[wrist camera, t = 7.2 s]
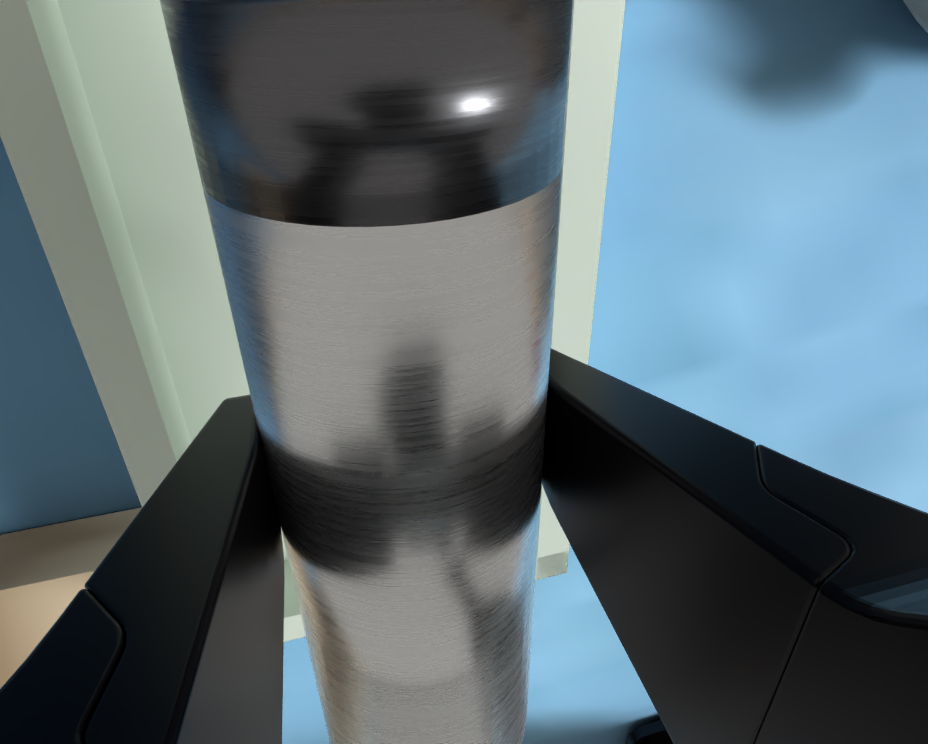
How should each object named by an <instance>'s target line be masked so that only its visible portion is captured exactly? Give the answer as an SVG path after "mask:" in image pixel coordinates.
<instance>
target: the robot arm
mask: <svg viewBox="0 0 928 744" xmlns="http://www.w3.org/2000/svg"><path fill="white" fill-rule="evenodd" d="M542 485H543V488H544V491H545V493H546V496H547V498H548V501H549V503H550V505H551V508H552V510H553V512H554V514H555V516H556V518H557V520H558V522H559V524H560V526H561V528H562V530H563V531H564V533H565V535H566V537H567V539H568V541H569V543H570V545H571V547H572V549H573V551H574V553H575V555H576V556H577V558H578V560H579V562H580V564H581V566H582V568H583V570H584V572H585V574H586V576H587V578H588V580H589V582H590V583H591V585H592V587H593V589H594V591H595V593H596V595H597V597H598V599H599V601H600V603H601V605H602V607H603V608H604V610H605V612H606V614H607V616H608V618H609V620H610V622H611V624H612V626H613V628H614V630H615V632H616V634H617V635H618V637H619V639H620V641H621V643H622V645H623V647H624V649H625V651H626V653H627V655H628V657H629V659H630V660H631V662H632V664H633V666H634V668H635V670H636V672H637V674H638V676H639V678H640V680H641V682H642V684H643V686H644V687H645V689H646V691H647V693H648V695H649V697H650V699H651V701H652V703H653V705H654V707H655V709H656V711H657V712H658V714H659V716H660V718H661V720H659V721H656V722H652V723H649V724H646V725H643V726H640V727H637V728H636V729H634V730H633V731H632V732H631V733H630V734H629V736H628V740H627V744H928V513H926V512H923V511H920V510H918V509H915V508H912V507H910V506H907V505H905V504H902V503H899V502H897V501H894V500H891V499H889V498H886V497H884V496H881V495H878V494H876V493H873V492H871V491H868V490H866V489H863V488H861V487H858V486H856V485H853V484H851V483H848V482H846V481H843V480H840V479H838V478H835V477H833V476H830V475H828V474H826V473H823V472H821V471H819V470H817V469H814V468H812V467H810V466H807V465H805V464H803V463H801V462H798V461H796V460H794V459H791V458H789V457H787V456H785V455H783V454H780V453H778V452H776V451H774V450H772V449H770V448H767V447H765V446H763V445H757V446H756V444H755V442H754V441H752V440H750V439H748V438H745V437H743V436H741V435H739V434H737V433H735V432H732V431H730V430H728V429H726V428H724V427H721V426H719V425H717V424H715V423H713V422H711V421H708V420H706V419H704V418H702V417H700V416H698V415H695V414H693V413H691V412H689V411H687V410H684V409H682V408H680V407H678V406H676V405H674V404H671V403H669V402H667V401H665V400H663V399H661V398H658V397H656V396H654V395H652V394H650V393H647V392H645V391H643V390H641V389H639V388H637V387H634V386H632V385H630V384H628V383H626V382H624V381H621V380H619V379H617V378H615V377H613V376H610V375H608V374H606V373H604V372H602V371H600V370H597V369H595V368H593V367H591V366H589V365H587V364H584V363H582V362H580V361H578V360H576V359H574V358H571V357H569V356H567V355H565V354H563V353H560V352H558V351H556V350H554V349H552V348H550V363H549V378H548V394H547V409H546V425H545V440H544V455H543V471H542ZM284 581H285V575H284V552H283V541H282V533H281V525H280V521H279V516H278V512H277V508H276V503H275V499H274V495H273V490H272V486H271V482H270V477H269V473H268V468H267V464H266V460H265V455H264V451H263V447H262V442H261V438H260V434H259V430H258V426H257V422H256V417H255V413H254V409H253V404H252V400H251V396H250V395H244V396H238V397H232V398H227V399H225V400H224V401H222V403H221V404H220V405H219V407H218V408H217V409H216V411H215V412H214V413H213V415H212V416H211V417H210V419H209V420H208V421H207V423H206V424H205V425H204V426H203V428H202V429H201V430H200V432H199V433H198V434H197V436H196V437H195V438H194V440H193V441H192V442H191V444H190V445H189V446H188V448H187V449H186V450H185V452H184V453H183V454H182V456H181V457H180V458H179V460H178V461H177V462H176V464H175V465H174V466H173V468H172V469H171V470H170V472H169V473H168V474H167V476H166V477H165V478H164V480H163V481H162V482H161V484H160V485H159V486H158V488H157V489H156V490H155V491H154V493H153V494H152V495H151V497H150V498H149V499H148V501H147V502H146V503H145V505H144V506H143V507H142V509H141V510H140V511H139V513H138V514H137V515H136V517H135V518H134V519H133V521H132V522H131V523H130V525H129V526H128V527H127V529H126V530H125V531H124V533H123V534H122V535H121V537H120V538H119V539H118V541H117V542H116V543H115V545H114V546H113V547H112V549H111V550H110V551H109V553H108V554H107V555H106V556H105V558H104V559H103V560H102V562H101V563H100V564H99V566H98V567H97V568H96V570H95V571H94V572H93V574H92V575H91V576H90V578H89V579H88V580H87V582H86V583H85V586H84V587H85V589H81V590H80V591H79V592H78V593H77V594H76V596H75V597H74V598H73V600H72V601H71V602H70V604H69V605H68V606H67V608H66V609H65V610H64V612H63V613H62V614H61V616H60V617H59V618H58V620H57V621H56V622H55V623H54V625H53V626H52V627H51V628H50V630H49V631H48V632H47V633H46V635H45V636H44V637H43V638H42V640H41V641H40V642H39V643H38V645H37V646H36V647H35V648H34V650H33V651H32V652H31V653H30V655H29V656H28V657H27V658H26V660H25V661H24V662H23V663H22V664H21V665H20V667H19V668H18V669H17V670H16V671H15V672H14V673H13V675H12V676H11V677H10V678H9V679H8V680H7V681H6V683H5V684H4V685H3V686H2V687H1V688H0V744H282V699H283V640H284Z"/></svg>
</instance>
